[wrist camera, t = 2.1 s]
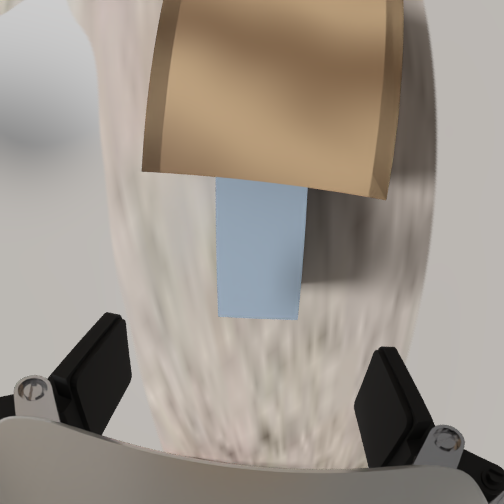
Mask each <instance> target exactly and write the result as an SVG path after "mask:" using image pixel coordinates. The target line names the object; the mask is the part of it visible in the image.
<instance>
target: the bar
mask: <svg viewBox="0 0 504 504" xmlns="http://www.w3.org/2000/svg"><path fill="white" fill-rule="evenodd" d="M307 190H308V188H307V187H300V186H293V185H285V184H277V183H269V182H260V181H251V180H242V179H232V178H222V177H216V250H217V292H218V317H235V318H256V319H285V320H298V311H299V300H300V289H301V278H302V266H303V253H304V239H305V224H306V208H307Z"/></svg>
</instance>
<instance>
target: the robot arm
mask: <svg viewBox="0 0 504 504" xmlns="http://www.w3.org/2000/svg"><path fill="white" fill-rule="evenodd" d="M131 377H132V373H131V365H130V358H129V349H128V340H127V331H126V322H125V320H124V319H122V317H121V316H120V315H118V314H113V313H108V312H106V313H105V314H104V315H103V316H102V317H101V318H100V319H99V320H98V321H97V322H96V324H95V325H94V326H93V327H92V328H91V329H90V330H89V331H88V332H87V334H86V335H85V336H84V337H83V338H82V339H81V340H80V342H79V343H78V344H77V345H76V346H75V347H74V348H73V349H72V351H71V352H70V353H69V354H68V355H67V356H66V358H65V359H64V360H63V361H62V362H61V364H60V365H59V366H58V367H57V368H56V369H55V370H54V372H53V373H52V374H51V375H50V376H49V378H48V379H46V378H44V377H42V376H38V375H31V376H27V377H24V378H22V379H21V380H20V381H18V382H17V383H16V385H15V387H14V394H13V395H8V396H3V397H0V504H504V470H503V469H502V468H501V467H499V466H498V465H496V464H494V463H491V462H489V461H487V460H485V459H483V458H481V457H479V456H477V455H475V454H473V453H470V452H468V451H467V450H464V445H465V441H464V437H463V436H462V434H461V433H460V432H459V431H458V430H457V429H455V428H454V427H452V426H448V425H438V426H435V425H434V422H433V420H432V417H431V415H430V413H429V411H428V409H427V407H426V405H425V403H424V401H423V399H422V397H421V395H420V393H419V391H418V389H417V387H416V385H415V383H414V381H413V379H412V377H411V376H410V374H409V372H408V370H407V368H406V366H405V364H404V362H403V360H402V359H401V357H400V355H399V353H398V351H397V349H396V348H395V347H380V348H379V349H378V350H375V351H374V353H373V356H372V359H371V361H370V364H369V367H368V370H367V372H366V375H365V377H364V380H363V383H362V385H361V388H360V390H359V393H358V395H357V397H356V400H355V403H354V410H355V414H356V418H357V422H358V426H359V430H360V434H361V438H362V442H363V446H364V450H365V454H366V458H367V463H368V467H369V468H358V469H286V468H270V467H257V466H247V465H238V464H230V463H222V462H215V461H209V460H203V459H197V458H191V457H186V456H181V455H176V454H171V453H166V452H162V451H157V450H153V449H149V448H145V447H141V446H137V445H133V444H130V443H126V442H122V441H118V440H115V439H112V438H108V437H105V436H102V433H103V432H104V430H105V428H106V426H107V424H108V422H109V420H110V418H111V416H112V415H113V413H114V411H115V409H116V407H117V405H118V404H119V402H120V400H121V398H122V396H123V394H124V393H125V391H126V389H127V387H128V385H129V383H130V381H131Z"/></svg>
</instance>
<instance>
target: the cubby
mask: <svg viewBox="0 0 504 504" xmlns="http://www.w3.org/2000/svg"><path fill="white" fill-rule="evenodd" d="M402 61H403V0H163V4H162V9H161V14H160V19H159V24H158V30H157V36H156V42H155V48H154V54H153V61H152V68H151V75H150V83H149V91H148V100H147V109H146V119H145V131H144V143H143V159H142V172H159V173H174V174H188V175H200V176H212V177H222V178H232V179H242V180H251V181H260V182H269V183H277V184H285V185H293V186H300V187H307V188H314V189H321V190H328V191H334V192H341V193H347V194H353V195H359V196H365V197H371V198H377V199H382V200H386V198H387V193H388V187H389V181H390V175H391V169H392V162H393V155H394V148H395V140H396V132H397V124H398V114H399V104H400V92H401V79H402Z"/></svg>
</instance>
